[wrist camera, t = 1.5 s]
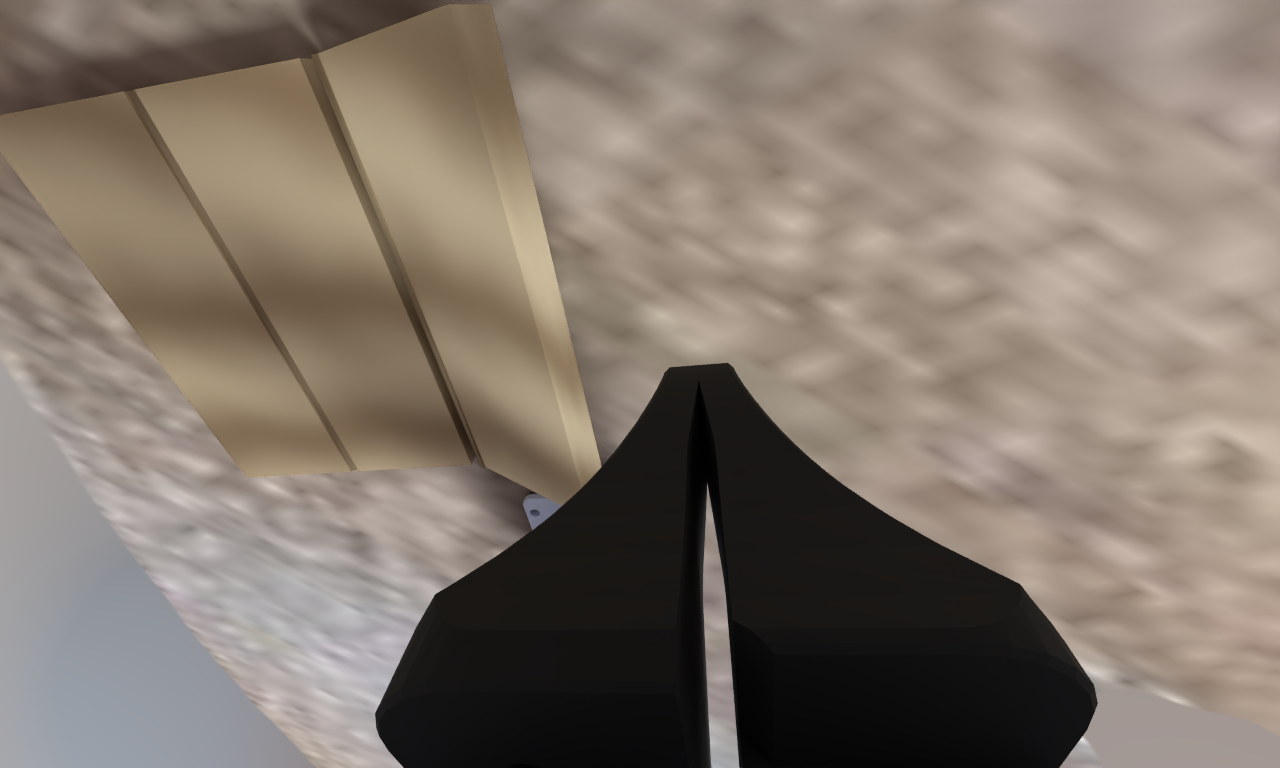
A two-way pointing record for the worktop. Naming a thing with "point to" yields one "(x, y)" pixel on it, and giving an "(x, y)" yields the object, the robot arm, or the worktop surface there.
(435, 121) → the oak plank
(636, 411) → the worktop surface
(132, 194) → the floor panel
